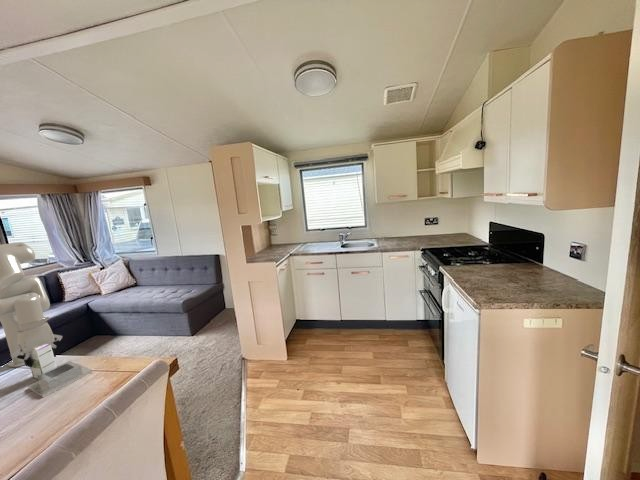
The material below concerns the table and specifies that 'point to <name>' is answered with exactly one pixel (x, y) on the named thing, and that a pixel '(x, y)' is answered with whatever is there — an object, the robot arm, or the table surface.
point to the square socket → (58, 378)
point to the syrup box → (42, 360)
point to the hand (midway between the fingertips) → (42, 360)
